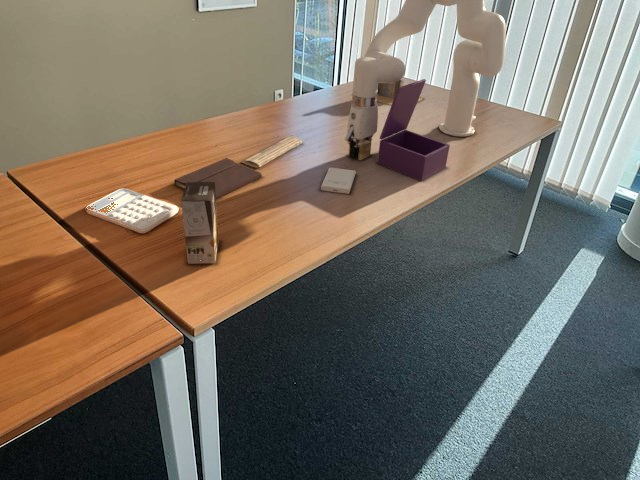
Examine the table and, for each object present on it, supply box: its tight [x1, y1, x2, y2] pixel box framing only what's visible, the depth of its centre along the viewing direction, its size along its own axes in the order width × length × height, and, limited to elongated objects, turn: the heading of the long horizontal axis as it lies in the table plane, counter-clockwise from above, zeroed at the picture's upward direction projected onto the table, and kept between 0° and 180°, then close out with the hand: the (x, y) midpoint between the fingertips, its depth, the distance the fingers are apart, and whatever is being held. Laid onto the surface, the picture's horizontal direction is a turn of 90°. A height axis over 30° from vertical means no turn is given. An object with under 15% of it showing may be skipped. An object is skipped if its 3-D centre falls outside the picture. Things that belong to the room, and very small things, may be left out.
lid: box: [379, 78, 427, 140], centre depth 161 cm, size 17×14×1 cm
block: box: [348, 139, 372, 161], centre depth 170 cm, size 5×5×5 cm
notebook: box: [174, 157, 263, 200], centre depth 152 cm, size 15×20×2 cm
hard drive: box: [320, 167, 357, 194], centre depth 155 cm, size 2×8×12 cm
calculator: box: [85, 188, 179, 234], centre depth 135 cm, size 13×20×2 cm, turn 62°
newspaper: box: [241, 136, 303, 169], centre depth 170 cm, size 24×7×2 cm, turn 148°
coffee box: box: [180, 182, 220, 265], centre depth 118 cm, size 9×6×16 cm
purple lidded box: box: [377, 129, 451, 182], centre depth 165 cm, size 17×14×8 cm
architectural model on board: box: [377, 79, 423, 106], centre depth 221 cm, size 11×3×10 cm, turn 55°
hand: (359, 154), depth 172 cm, fingers closed on block, 5 cm apart
